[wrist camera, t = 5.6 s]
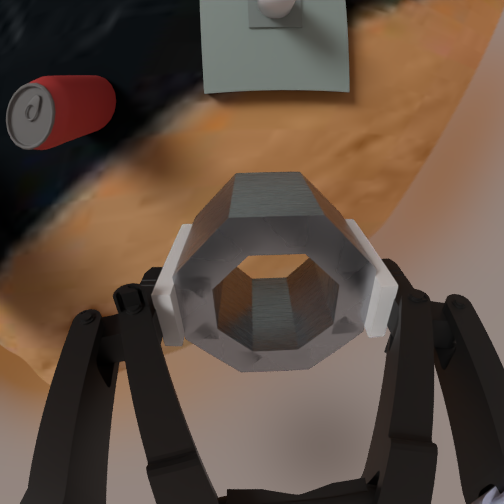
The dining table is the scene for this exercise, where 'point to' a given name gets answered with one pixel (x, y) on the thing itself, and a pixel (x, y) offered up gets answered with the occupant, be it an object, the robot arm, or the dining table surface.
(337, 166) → the dining table surface
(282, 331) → the ring
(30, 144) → the beer can
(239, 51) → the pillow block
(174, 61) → the dining table surface
